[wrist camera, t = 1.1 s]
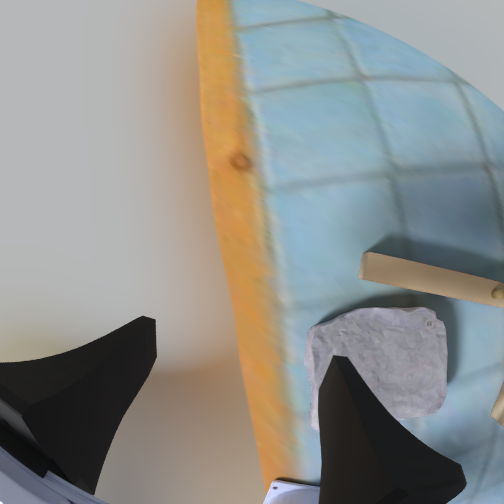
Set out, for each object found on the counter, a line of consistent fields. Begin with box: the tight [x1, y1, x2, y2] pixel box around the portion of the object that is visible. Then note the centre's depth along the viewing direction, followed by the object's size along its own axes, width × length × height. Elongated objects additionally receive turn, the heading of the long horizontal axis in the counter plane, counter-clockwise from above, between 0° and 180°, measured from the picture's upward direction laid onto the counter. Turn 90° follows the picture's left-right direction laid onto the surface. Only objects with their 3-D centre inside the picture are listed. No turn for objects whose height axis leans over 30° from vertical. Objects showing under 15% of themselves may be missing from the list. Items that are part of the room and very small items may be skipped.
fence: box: [358, 252, 504, 426], centre depth 18 cm, size 13×21×4 cm, turn 78°
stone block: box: [304, 307, 448, 432], centre depth 20 cm, size 12×5×10 cm
